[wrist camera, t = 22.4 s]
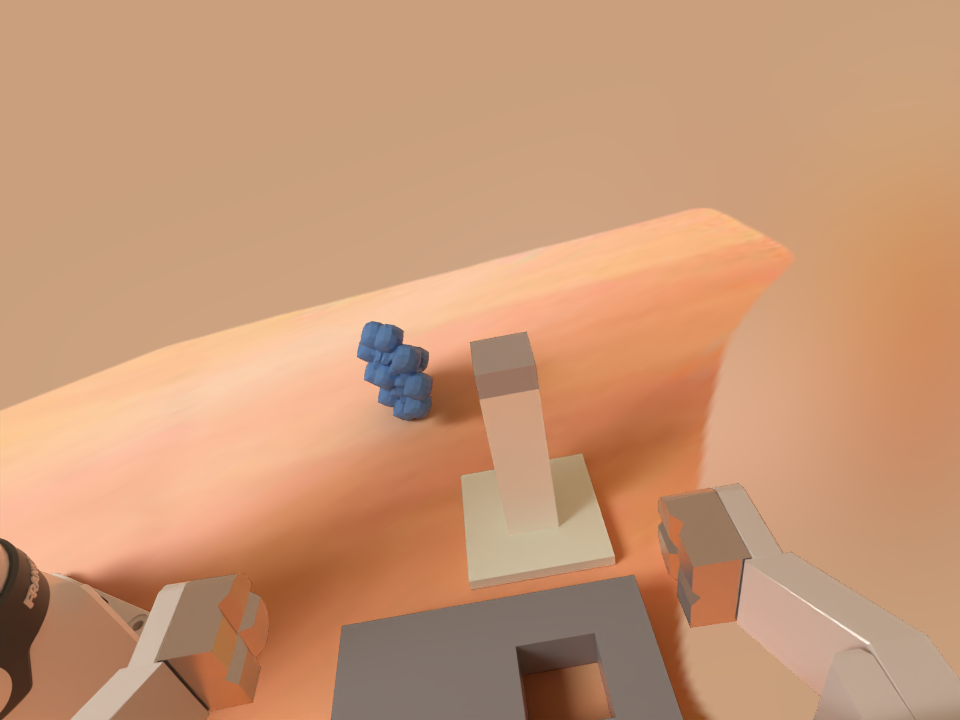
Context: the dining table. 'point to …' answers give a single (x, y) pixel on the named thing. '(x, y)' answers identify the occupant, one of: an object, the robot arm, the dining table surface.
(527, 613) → the block
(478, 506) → the sage pad
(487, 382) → the cream plug
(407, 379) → the grapes
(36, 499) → the dining table surface
